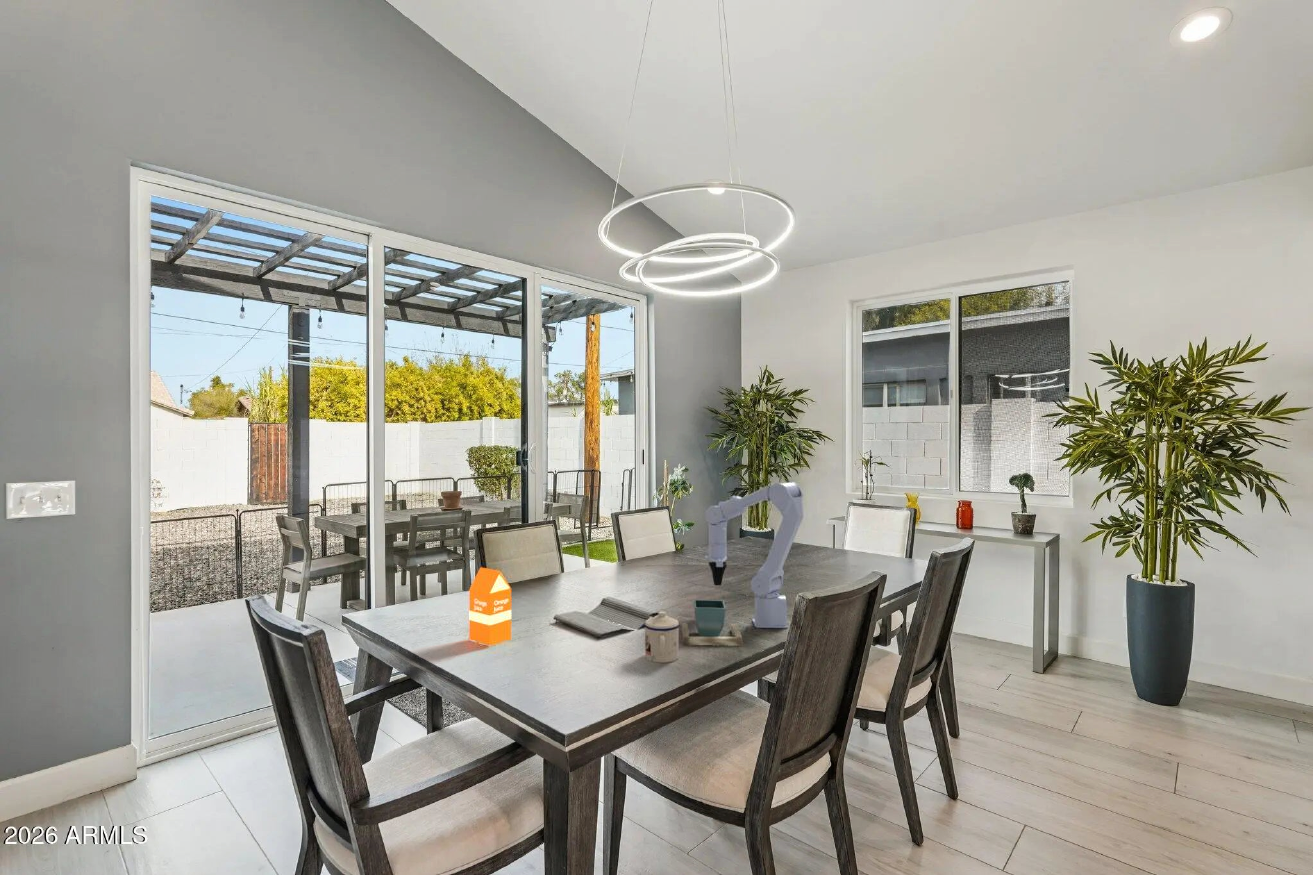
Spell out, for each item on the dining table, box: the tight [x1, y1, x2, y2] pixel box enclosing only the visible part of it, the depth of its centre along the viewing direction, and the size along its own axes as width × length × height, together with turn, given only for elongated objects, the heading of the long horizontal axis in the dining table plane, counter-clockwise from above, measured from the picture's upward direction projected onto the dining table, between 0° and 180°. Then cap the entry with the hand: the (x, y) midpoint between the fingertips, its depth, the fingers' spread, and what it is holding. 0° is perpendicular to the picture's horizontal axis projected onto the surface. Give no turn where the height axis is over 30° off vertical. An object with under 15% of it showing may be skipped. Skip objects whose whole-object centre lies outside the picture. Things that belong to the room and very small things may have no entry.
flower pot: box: [693, 599, 727, 637], centre depth 179 cm, size 9×9×9 cm
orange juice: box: [468, 567, 512, 645], centre depth 173 cm, size 8×9×20 cm
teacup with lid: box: [643, 611, 680, 664], centre depth 159 cm, size 12×9×12 cm
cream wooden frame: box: [681, 623, 743, 647], centre depth 176 cm, size 16×14×2 cm
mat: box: [553, 596, 659, 640], centre depth 190 cm, size 23×24×5 cm
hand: (717, 584), depth 200 cm, fingers closed
